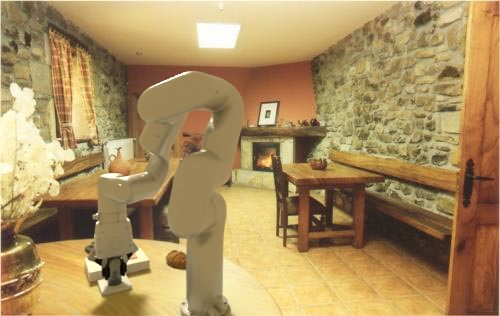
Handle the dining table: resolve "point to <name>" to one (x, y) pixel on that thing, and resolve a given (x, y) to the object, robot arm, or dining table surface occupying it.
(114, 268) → the peg
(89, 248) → the grey rounded lumpy piece
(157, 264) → the dining table surface
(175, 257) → the pastry
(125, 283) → the pad
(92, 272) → the board
